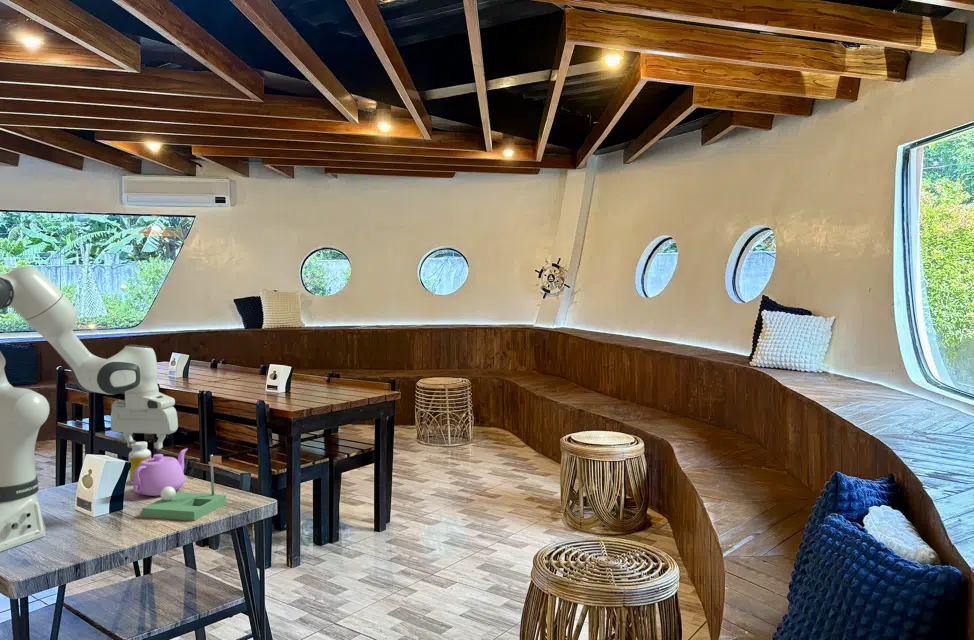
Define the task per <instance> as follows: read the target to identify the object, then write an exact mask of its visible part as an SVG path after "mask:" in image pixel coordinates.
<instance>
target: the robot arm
mask: <svg viewBox="0 0 974 640" xmlns="http://www.w3.org/2000/svg"><path fill="white" fill-rule="evenodd" d="M8 307H11V308H12V309H14V310H15V311H16V312H17V314H18V315H20V317H21V318H23V320H24V321H25V322H26V323H27V324H28V325H29V326H30V327H31V328H32V329H33V330H35V331H36V332H37V333H38V334H39V335H40V336H42V337H43V338H44V339H45V341H47V342H48V344H49V345H50V346H51V347H52V348H53V350H54V351H55V352H56V354H58V355H59V357H60V358H61V359H62V360H63V362H64V363H66V364H67V366H68V368H69V369H70V370H69V371H70V372H71V374H72V378H73V381H74V383H75V384H76V386H77V387H78V388H79V389H80V390H82V391H84V392H87V393H97V394H104V395H118V394H120V393H124V399H123V400H122V399H115V400H114V402H112V403H111V413H110V430H111V432H113V433H122V435H123V438H124V439H125V441H126V443H127V446H126V447H127V448H131V449H132V448H133V447H135V446H136V442H137V441H136V440H134V439H133V436H132V435H133V434H153V435H155V434H156V437H157V438H158V439H157V441H156V442H154V443H153V446H154V449H156V450H160V449H162V448H163V447H164V445H163V442H164V440H165V438H166V437H167V435H170V434H173V433H176V432H177V430H178V428H179V422H178V421H179V419H178V413H177V412H178V411H177V410H176V408H175V407H174V406H175V404H176V400H175V398H174V397H172V396H169V395H166V394H164V393H162V392H160V390H159V385H158V383H157V382H158V381H157V379H158V373H159V372H158V363H157V356H156V352H155V351H154V349H153V347H152V346H148V345H139V344H128V345H125V346H124V348H122V349H121V350H120V351H119V352H118V353H116V354H114V355H112V356H111V357H108V358H103V357H99V356H97V355H95V354H93V353H91V352H90V350H88V348H87V347H86V346H85V345H84V343H83V342H82V341H81V340H80V339H79V338H78V337H77V335H76V334H75V332H74V330H73V327H74V326H75V324H76V322H77V320H78V319H77V317H78V312H77V310H76V308H75V307H74V305H73V304H72V302H71V300H70V299H69V297H67V296H66V294H65V293H64V292H63V291H62V290H61V289H60V288H59V287H58V286H57V285H56V284H55V283H54V282H53V281H51V279H49V277H47V276H46V275H44V274H43V273H42V272H41V271H40V270H38V269H37V268H35V267H33V266H19V267H17V268H14V269H12V270H11V271H9V272H7V273H6V272H4V273H0V310H2V309H6V308H8ZM5 366H6V358H5V357H4V355H3V353H2V351H0V552H3V551H6V550H10V549H12V548H15V547H18V546H20V545H23V544H25V543H29V542H31V541H35V540H37V539H40V538H43V537H45V536H46V535H47V533H46V530H47V526H46V524H45V522H44V519H43V515H42V511H41V506H40V503H39V497H38V491H40V490H39V479H38V477H37V476H36V456H35V455H36V454H35V453H36V452H35V449H36V445H37V444H36V443H37V438H38V434H39V432H40V428H41V427H42V425H44V423H45V422H46V421H47V419H48V417H49V415H50V403H49V401H48V400H47V398H46V397H45V396H44V395H43V394H40V393H38V392H37V391H35V390H32V389H30V388H24V387H15V386H13V385H12V384H10V382H9V381H8V378H7V376H6V372H5Z"/></svg>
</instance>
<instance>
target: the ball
mask: <svg viewBox="0 0 974 640" xmlns="http://www.w3.org/2000/svg"><path fill="white" fill-rule="evenodd" d="M176 492H177V491H175V489H174V488H173V487H170V486H167V487H165V488H163V489H162V491H161V496H160V498H161V499H163V500H166V501H169V500H172V499H173V498H174V497H175V494H176Z"/></svg>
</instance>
